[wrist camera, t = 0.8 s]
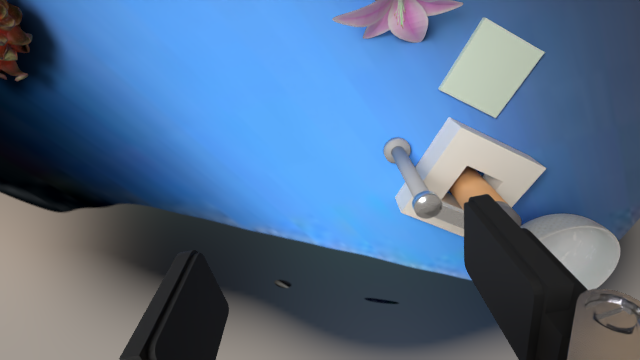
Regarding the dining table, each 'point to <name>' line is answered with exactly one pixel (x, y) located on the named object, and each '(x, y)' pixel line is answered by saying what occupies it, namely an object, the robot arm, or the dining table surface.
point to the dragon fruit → (12, 40)
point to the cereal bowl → (578, 245)
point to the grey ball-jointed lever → (437, 209)
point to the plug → (478, 191)
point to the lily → (397, 17)
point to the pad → (490, 68)
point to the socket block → (460, 168)
